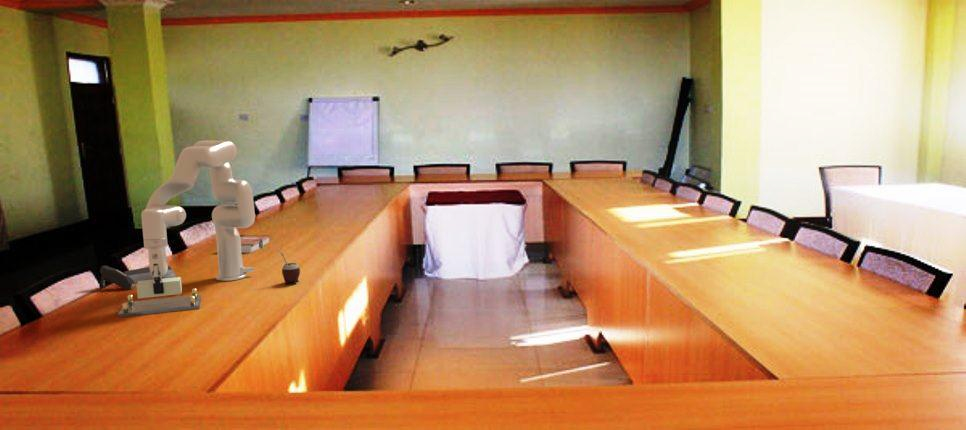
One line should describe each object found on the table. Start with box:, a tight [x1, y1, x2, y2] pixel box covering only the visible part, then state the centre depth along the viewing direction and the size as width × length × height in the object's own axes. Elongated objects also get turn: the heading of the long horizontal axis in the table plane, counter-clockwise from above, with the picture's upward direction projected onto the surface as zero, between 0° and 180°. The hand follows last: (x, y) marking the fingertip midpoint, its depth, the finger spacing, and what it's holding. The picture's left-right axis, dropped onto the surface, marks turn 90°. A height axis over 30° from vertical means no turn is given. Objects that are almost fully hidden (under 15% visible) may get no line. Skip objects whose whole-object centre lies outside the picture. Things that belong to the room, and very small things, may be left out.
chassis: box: [117, 287, 203, 318], centre depth 232 cm, size 26×15×4 cm, turn 111°
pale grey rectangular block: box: [135, 276, 183, 299], centre depth 231 cm, size 14×6×5 cm, turn 113°
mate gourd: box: [275, 248, 301, 286], centre depth 262 cm, size 8×8×15 cm
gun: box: [99, 265, 136, 291], centre depth 258 cm, size 3×16×10 cm, turn 79°
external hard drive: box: [123, 265, 176, 284], centre depth 274 cm, size 13×19×4 cm
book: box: [240, 234, 270, 254], centre depth 333 cm, size 26×18×5 cm
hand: (160, 290), depth 231 cm, fingers closed on pale grey rectangular block, 6 cm apart
